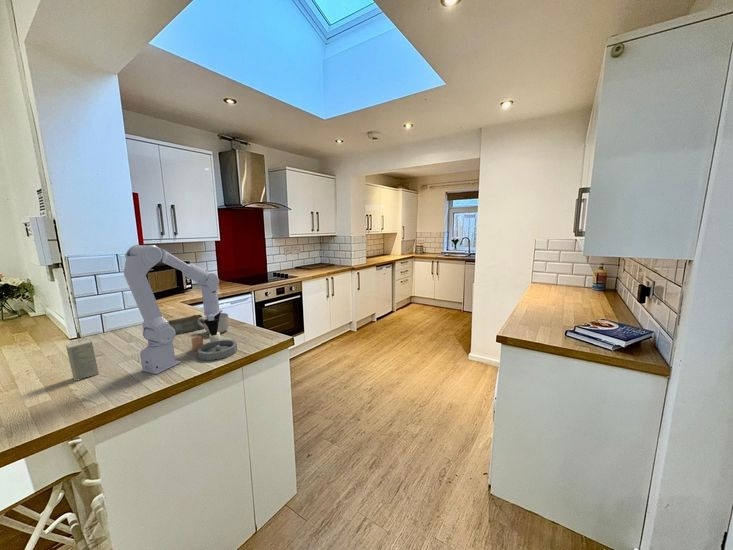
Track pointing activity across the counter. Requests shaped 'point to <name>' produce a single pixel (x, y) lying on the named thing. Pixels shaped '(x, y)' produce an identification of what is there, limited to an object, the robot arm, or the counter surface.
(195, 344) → the bead terracotta
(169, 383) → the counter surface
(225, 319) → the teacup
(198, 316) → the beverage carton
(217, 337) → the bead cream
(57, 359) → the counter surface
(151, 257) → the robot arm
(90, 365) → the skincare box
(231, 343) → the groove tray
